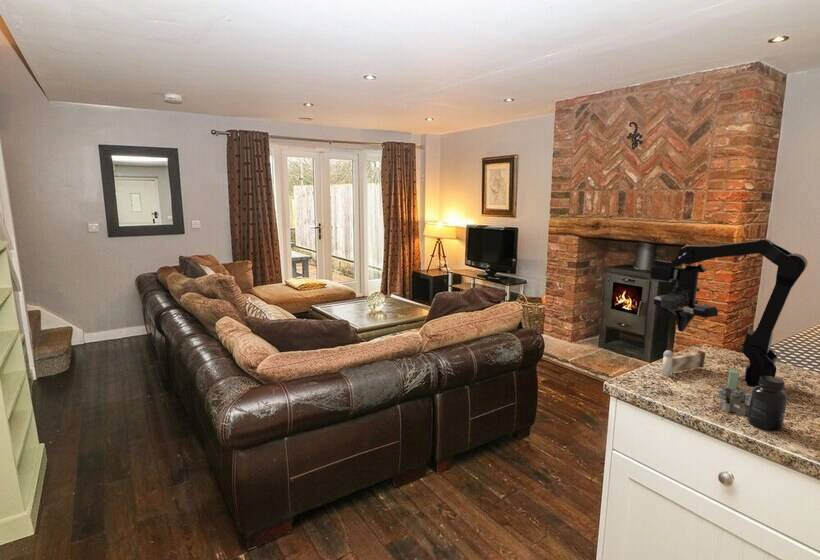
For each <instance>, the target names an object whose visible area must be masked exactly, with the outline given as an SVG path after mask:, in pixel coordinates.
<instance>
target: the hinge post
mask: <svg viewBox="0 0 820 560" xmlns="http://www.w3.org/2000/svg"><path fill="white" fill-rule="evenodd" d="M672 357H674V352H673V351H672V350H669V349H668V350H667V349H666V350H665V351H664V352H663V359H662V366H661V376H665V377H670V376H671V365H672Z"/></svg>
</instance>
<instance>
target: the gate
mask: <svg viewBox="0 0 820 560" xmlns="http://www.w3.org/2000/svg"><path fill="white" fill-rule="evenodd" d="M705 358H706V352H705V351H702V350H697V352H693V353H687V354H682V355H678V356H677V355H676V356H673V357H672V365H671V373H677V372H682V371H687V370H693V369H694V370H695V369H699V368H704V366H705ZM671 373H670V374H671Z"/></svg>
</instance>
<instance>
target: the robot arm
mask: <svg viewBox="0 0 820 560" xmlns="http://www.w3.org/2000/svg"><path fill="white" fill-rule="evenodd" d="M755 254H760V255H761V256H763V257H764V258H766V259H767V260H768V261H770V262H771V263H772V264H774V265H776V266H777V270H776V277H775V285H774V287H773V289H772V292H771V294H770V296H769V299H768V301H767V303H766V305H765V306H766V307H765V308H764V310H763V313H762V315H761V318H760V321H759V322H758V325H757V327H756V329H755V331H754V329H749V330H748V331H747V333H746V334H745V338H744V341H743V342H742V343H741V346H740V347H743V348H742V352H743V353H742V354H744V356H745V357H746V358H747V359H748V365H746V366H745V371H744V376H743V377H744V381H745V383H746V385H747V386H751V387H756V386H759V384H758V382H759V378H760V376H772V377H776V373H777V370H778V369H777V365H776V362H777V360H778V359H779V357H778V356H777V354H776V353H775V352H774V351H773V350H772V349H771V348H772V341H773V334H774V329H775V327H776V325H777V323H778V321H779V318H780V316H781V313H782V311H783V309H784V306H785V304H786V302H787V300H788V298H789V295H790V292H791V291H792V288H793V287H794V285H795V284H796V282H797V281H798V280H799V278H800V277H801V276H802V274H803V272H804V271H805V270H806V269H807V267H808V260H807V258H806V257H805V256H804V255H802V254H799V253H795V252H794V253H792V252H790V251H788V250H787V249H785V248H783V247H781V246H779V245H778V244H776V243H774V242H773V241H771V240H770V239H768V238H762V239H761V238H760V239H758V240H751V241H743V242H735V243H727V244H726V243H724V244H718V245H711V244H710V245H707V244H690V245H686V246H683V247H680V249H679V250H678V253H677V256H676V258H674V259H673V260H672V261H665V260H661V259H655V260H654V263H653V265H652V268H651V270H650V280H652V281H655V282H656V281H657V282H665V283H672V282H673V280H674V281H675V280H676V283H675V284H676V285H675V286H672V289H671V292H668V293H666V294H663V295H656V296H655V297H654V298H653V305H655V306H659V307H661V308H664V309H665V308H666V309H667V310H668V311H669V312H670V313H672V314H673V316H674V319H675V321H676V322H675V323H676V326H677V329H678V331H679V332H684V331H685V329H686V328H687V327H688V325H689V324H690V323H691V321H692V320H693V319H694V318H695V316H697V317H702V318H711V317H718V314H719V310H718V308H717V306H714V305H709V304H699V305H698V303H699V301H698V300H696V298H697V293H698V292H700V287H698V282H699V274H700V273H706V272H707V271H708V269H707V268H706V267H704V265H703V264H702V263H700V262H704V261H707V260H712V259H717V258H718V259H719V258H726V257H736V256H745V255H755ZM696 263H699V264H698V265H692V264H696ZM681 265H686V266H684V267H682V266H681Z"/></svg>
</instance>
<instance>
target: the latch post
mask: <svg viewBox="0 0 820 560" xmlns="http://www.w3.org/2000/svg"><path fill="white" fill-rule="evenodd" d="M728 372H729V373H728V380H727V387H728V388H732V389H736V390H737V388H738V380H739V376H740V375H739V374H740V373H739V369H737V368H734V367H733V368H731V367H730V368H729V371H728Z"/></svg>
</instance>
